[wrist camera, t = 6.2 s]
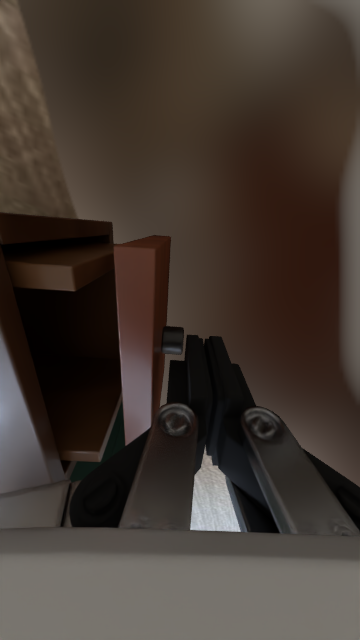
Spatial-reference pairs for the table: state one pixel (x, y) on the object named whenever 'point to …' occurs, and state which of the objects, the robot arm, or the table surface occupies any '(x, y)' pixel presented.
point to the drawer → (95, 334)
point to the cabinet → (30, 362)
